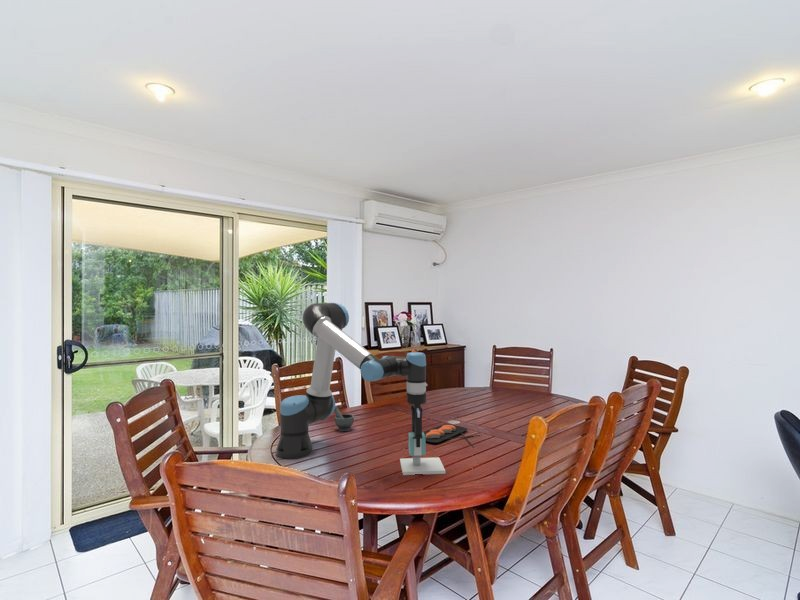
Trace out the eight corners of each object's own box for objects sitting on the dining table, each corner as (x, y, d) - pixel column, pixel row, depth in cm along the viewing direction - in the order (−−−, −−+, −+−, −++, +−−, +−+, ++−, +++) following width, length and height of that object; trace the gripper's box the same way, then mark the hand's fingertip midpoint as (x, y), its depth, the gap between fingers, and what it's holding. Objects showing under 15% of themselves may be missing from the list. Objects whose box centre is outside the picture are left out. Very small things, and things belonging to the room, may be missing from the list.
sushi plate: (445, 427, 230) (445, 419, 230) (498, 438, 211) (498, 430, 211) (410, 440, 208) (410, 432, 208) (466, 454, 189) (466, 445, 189)
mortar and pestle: (356, 428, 227) (356, 404, 227) (350, 433, 218) (350, 408, 218) (335, 426, 229) (335, 403, 229) (329, 432, 220) (329, 407, 220)
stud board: (402, 475, 165) (402, 458, 165) (399, 461, 179) (399, 446, 179) (445, 473, 167) (445, 457, 167) (439, 460, 181) (439, 445, 181)
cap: (410, 455, 170) (409, 437, 170) (408, 450, 176) (408, 432, 176) (425, 455, 170) (425, 436, 170) (423, 449, 176) (423, 432, 176)
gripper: (429, 397, 164) (429, 460, 164) (422, 387, 183) (423, 444, 183) (409, 398, 163) (409, 461, 163) (404, 388, 182) (405, 444, 182)
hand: (416, 452), depth 173 cm, fingers closed on cap, 6 cm apart
